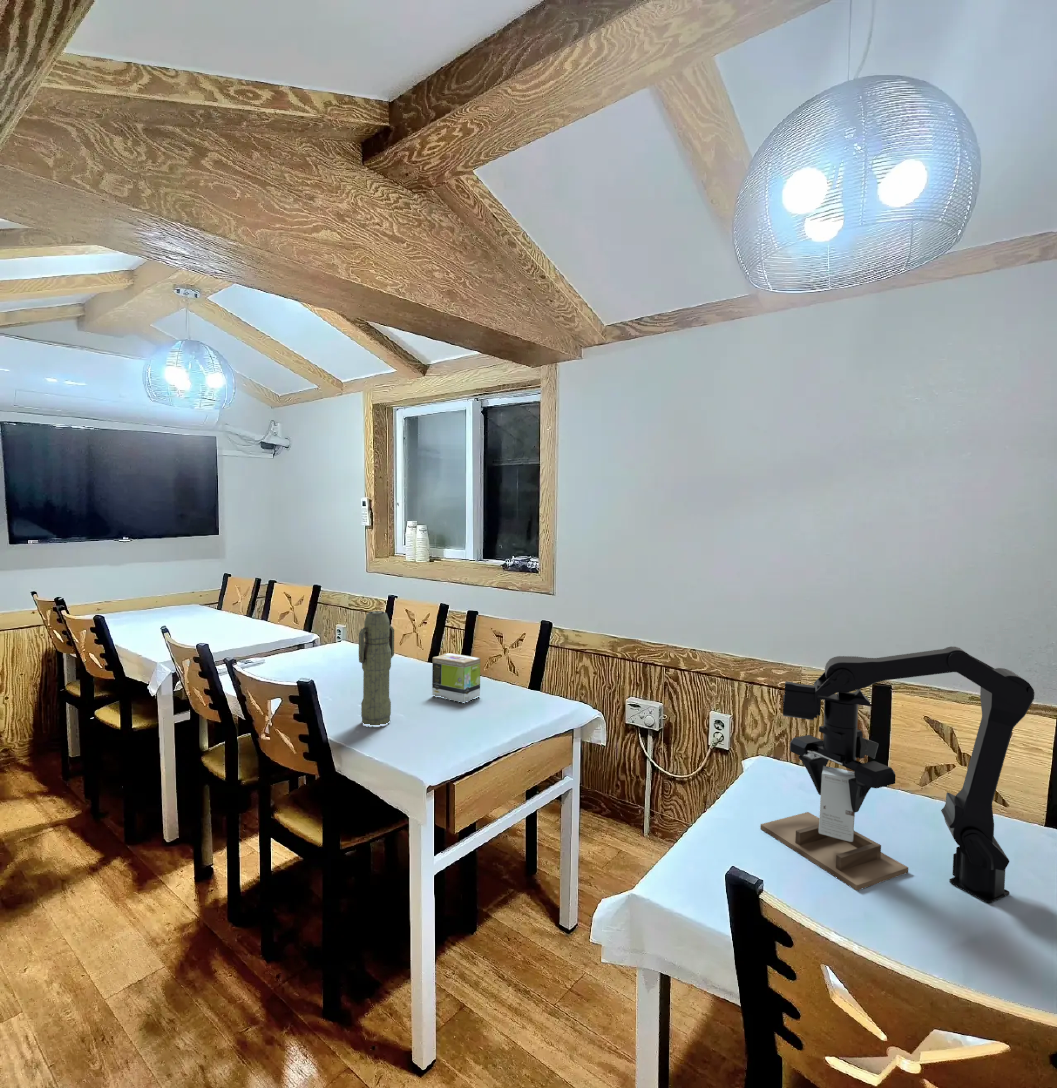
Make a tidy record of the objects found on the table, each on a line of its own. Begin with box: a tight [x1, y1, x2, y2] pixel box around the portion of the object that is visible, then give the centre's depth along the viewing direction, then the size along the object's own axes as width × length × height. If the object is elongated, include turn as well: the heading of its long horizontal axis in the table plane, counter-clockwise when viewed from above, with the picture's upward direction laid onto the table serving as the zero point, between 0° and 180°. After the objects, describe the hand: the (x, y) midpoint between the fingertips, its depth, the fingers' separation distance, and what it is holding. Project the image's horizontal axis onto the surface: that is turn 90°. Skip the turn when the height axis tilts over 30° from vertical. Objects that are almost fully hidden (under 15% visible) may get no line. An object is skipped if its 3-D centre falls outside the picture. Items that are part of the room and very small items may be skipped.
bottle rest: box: [760, 811, 909, 891], centre depth 114 cm, size 22×14×4 cm, turn 24°
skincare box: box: [818, 765, 856, 842], centre depth 111 cm, size 6×4×12 cm
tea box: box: [431, 652, 481, 702], centre depth 208 cm, size 15×10×15 cm, turn 58°
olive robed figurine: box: [358, 610, 395, 725], centre depth 179 cm, size 9×12×35 cm
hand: (837, 802), depth 111 cm, fingers closed on skincare box, 7 cm apart
